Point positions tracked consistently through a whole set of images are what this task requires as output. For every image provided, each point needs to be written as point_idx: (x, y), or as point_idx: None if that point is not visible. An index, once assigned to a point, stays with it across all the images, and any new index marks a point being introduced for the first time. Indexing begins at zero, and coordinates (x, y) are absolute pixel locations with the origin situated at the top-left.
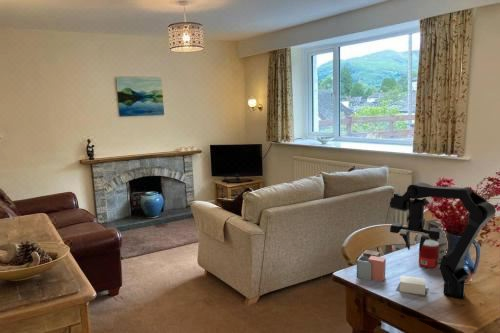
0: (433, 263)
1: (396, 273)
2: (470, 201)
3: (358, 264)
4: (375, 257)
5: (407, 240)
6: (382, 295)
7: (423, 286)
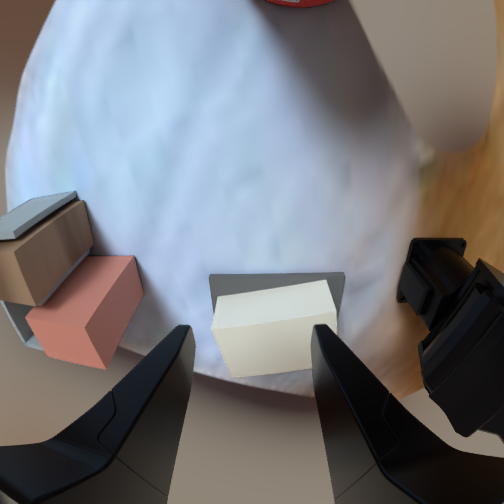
0: None
1: (153, 164)
2: None
3: None
4: (49, 332)
5: (167, 485)
6: None
7: None
